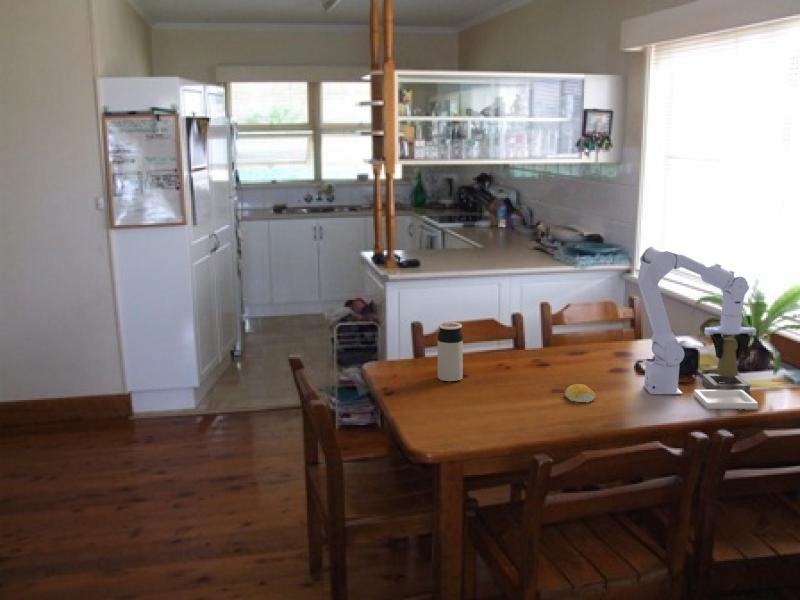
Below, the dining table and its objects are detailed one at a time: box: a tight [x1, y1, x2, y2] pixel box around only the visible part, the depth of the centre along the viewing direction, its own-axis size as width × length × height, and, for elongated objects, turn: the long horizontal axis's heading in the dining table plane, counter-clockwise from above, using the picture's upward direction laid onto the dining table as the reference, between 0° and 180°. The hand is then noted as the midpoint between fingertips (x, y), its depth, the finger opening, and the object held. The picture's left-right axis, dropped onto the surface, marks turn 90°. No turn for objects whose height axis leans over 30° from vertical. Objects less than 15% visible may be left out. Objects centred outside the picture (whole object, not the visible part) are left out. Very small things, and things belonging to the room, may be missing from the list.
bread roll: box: [564, 383, 596, 403], centre depth 223 cm, size 8×9×4 cm
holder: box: [701, 373, 751, 394], centre depth 230 cm, size 10×10×2 cm
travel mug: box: [437, 321, 464, 381], centre depth 240 cm, size 8×8×18 cm
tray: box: [693, 389, 759, 411], centre depth 217 cm, size 14×11×2 cm
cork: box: [715, 337, 739, 377], centre depth 228 cm, size 6×6×11 cm
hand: (727, 357), depth 228 cm, fingers closed on cork, 5 cm apart
